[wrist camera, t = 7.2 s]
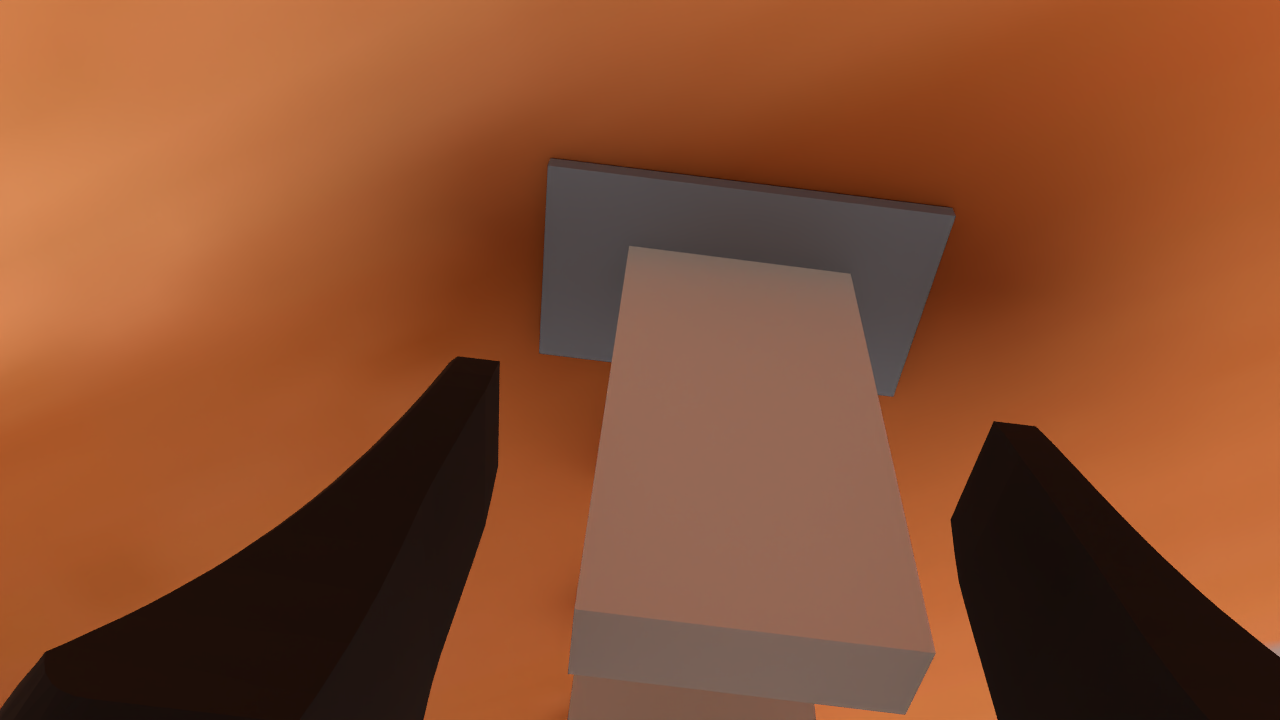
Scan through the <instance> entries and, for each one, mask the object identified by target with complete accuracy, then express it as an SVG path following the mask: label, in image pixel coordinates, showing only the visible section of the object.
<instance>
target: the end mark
mask: <svg viewBox="0 0 1280 720" xmlns="http://www.w3.org/2000/svg"><path fill="white" fill-rule="evenodd" d="M955 217H956V216H955V213H954V211H953V209H952V208H949V207H941V206H933V205H925V204H917V203H908V202H900V201H892V200H884V199H876V198H868V197H860V196H852V195H844V194H836V193H828V192H820V191H812V190H804V189H796V188H788V187H780V186H771V185H763V184H755V183H747V182H739V181H731V180H723V179H715V178H707V177H699V176H691V175H683V174H675V173H667V172H659V171H651V170H643V169H634V168H626V167H618V166H610V165H602V164H594V163H586V162H578V161H570V160H562V159H554V158H550V161H549V164H548V173H547V195H546V216H545V238H544V259H543V281H542V303H541V324H540V346H539V353H540V354H548V355H556V356H564V357H572V358H581V359H589V360H597V361H605V362H612V356H613V350H614V343H615V337H616V330H617V323H618V317H619V310H620V303H621V297H622V290H623V284H624V277H625V270H626V264H627V257H628V250H629V246H635V247H643V248H651V249H659V250H667V251H675V252H683V253H690V254H698V255H706V256H714V257H722V258H730V259H738V260H746V261H754V262H762V263H769V264H777V265H785V266H793V267H801V268H809V269H817V270H825V271H833V272H841V273H849V274H851V278H852V282H853V287H854V291H855V295H856V300H857V304H858V309H859V313H860V318H861V322H862V327H863V331H864V336H865V340H866V345H867V349H868V354H869V358H870V362H871V367H872V371H873V376H874V380H875V385H876V389H877V394H878V395H883V396H892V397H893V396H894V393H895V390H896V387H897V384H898V381H899V378H900V376H901V373H902V370H903V367H904V364H905V361H906V358H907V355H908V352H909V350H910V347H911V344H912V341H913V338H914V335H915V332H916V329H917V326H918V324H919V321H920V318H921V315H922V312H923V309H924V306H925V303H926V300H927V298H928V295H929V292H930V289H931V286H932V283H933V280H934V277H935V275H936V272H937V269H938V266H939V263H940V260H941V257H942V254H943V251H944V249H945V246H946V243H947V240H948V237H949V234H950V231H951V228H952V225H953V223H954V220H955Z"/></svg>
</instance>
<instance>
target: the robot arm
mask: <svg viewBox="0 0 1280 720" xmlns="http://www.w3.org/2000/svg"><path fill="white" fill-rule="evenodd" d="M499 367H500V361H491V360H483V359H475V358H467V357H456V358H455V359H453V360H452V361H451V362H450V363H449V364H448V365H447V366H446V367H445V369H444V370H443V371H442V372H441V374H440V375H439V376H438V377H437V378H436V379H435V381H434V382H433V383H432V384H431V385H430V386H429V388H428V389H427V390H426V391H425V392H424V393H423V394H422V396H421V397H420V398H419V399H418V400H417V401H416V402H415V403H414V404H413V405H412V406H411V408H410V409H409V410H408V411H407V412H406V413H405V414H404V415H403V416H402V417H401V418H400V419H399V420H398V421H397V422H396V423H395V424H394V425H393V426H392V427H391V428H390V429H389V430H388V431H387V432H386V433H385V434H384V435H383V436H382V437H381V438H380V440H379V441H378V442H377V443H376V444H374V445H373V446H372V447H371V448H370V449H369V450H368V451H367V452H366V453H365V454H364V455H363V456H362V457H361V458H359V459H358V460H357V461H356V462H355V463H354V464H353V465H352V466H351V467H349V468H348V469H347V470H346V471H345V472H344V473H343V474H342V475H341V476H339V477H338V478H337V479H336V480H335V481H334V482H333V483H332V484H330V485H329V486H328V487H327V488H326V489H324V490H323V491H322V492H321V493H320V494H318V495H317V496H316V497H315V498H313V499H312V500H311V501H310V502H308V503H307V504H306V505H305V506H303V507H302V508H301V509H299V510H298V511H297V512H295V513H294V514H293V515H291V516H290V517H289V518H287V519H286V520H285V521H283V522H282V523H281V524H279V525H278V526H277V527H275V528H274V529H272V530H271V531H269V532H268V533H266V534H265V535H264V536H262V537H261V538H259V539H258V540H256V541H255V542H253V543H252V544H250V545H249V546H247V547H246V548H244V549H243V550H242V551H240V552H239V553H237V554H235V555H234V556H232V557H231V558H229V559H228V560H226V561H224V562H223V563H221V564H220V565H218V566H216V567H215V568H213V569H212V570H210V571H208V572H206V573H205V574H203V575H201V576H199V577H197V578H196V579H194V580H192V581H190V582H189V583H187V584H185V585H183V586H181V587H180V588H178V589H176V590H174V591H173V592H171V593H169V594H167V595H165V596H163V597H161V598H160V599H158V600H156V601H154V602H152V603H150V604H148V605H146V606H144V607H142V608H140V609H138V610H136V611H134V612H132V613H130V614H128V615H126V616H124V617H122V618H120V619H117V620H115V621H113V622H111V623H109V624H107V625H104V626H102V627H100V628H98V629H96V630H94V631H91V632H89V633H87V634H85V635H83V636H80V637H78V638H76V639H74V640H72V641H70V642H67V643H65V644H63V645H61V646H58V647H56V648H53V649H51V650H49V651H46V652H45V653H44V654H43V656H42V657H41V658H40V660H39V661H38V662H37V663H36V665H35V666H34V667H33V668H32V669H31V670H30V672H29V673H28V674H27V675H26V676H25V677H24V679H23V680H22V681H21V682H20V683H19V684H18V686H17V687H16V689H15V690H14V691H13V693H12V694H11V695H10V697H9V698H8V699H7V701H6V702H5V703H4V705H3V706H2V708H1V709H0V720H423V719H424V715H425V710H426V706H427V702H428V698H429V694H430V689H431V685H432V682H433V678H434V675H435V672H436V668H437V665H438V662H439V658H440V655H441V652H442V649H443V646H444V644H445V641H446V638H447V635H448V632H449V629H450V626H451V623H452V620H453V618H454V615H455V612H456V609H457V606H458V603H459V600H460V597H461V595H462V592H463V589H464V586H465V583H466V580H467V577H468V574H469V572H470V569H471V566H472V563H473V560H474V557H475V554H476V551H477V548H478V545H479V542H480V539H481V536H482V533H483V530H484V527H485V524H486V519H487V515H488V510H489V506H490V501H491V497H492V492H493V487H494V482H495V478H496V473H497V468H498V436H499ZM951 527H952V535H953V543H954V552H955V559H956V566H957V572H958V579H959V584H960V588H961V592H962V596H963V599H964V603H965V607H966V610H967V614H968V617H969V621H970V625H971V628H972V632H973V635H974V639H975V642H976V646H977V649H978V653H979V656H980V660H981V663H982V667H983V670H984V674H985V677H986V681H987V684H988V687H989V691H990V694H991V698H992V701H993V705H994V708H995V712H996V715H997V719H998V720H1280V657H1279V656H1278V655H1276V654H1275V653H1274V652H1272V651H1271V650H1270V649H1268V648H1267V647H1266V646H1265V645H1263V644H1262V643H1261V642H1260V641H1258V640H1257V639H1256V638H1255V637H1254V636H1252V635H1251V634H1250V633H1249V632H1247V631H1246V630H1245V629H1244V628H1242V627H1241V626H1240V625H1239V624H1238V623H1236V622H1235V621H1234V620H1233V619H1231V618H1230V617H1229V616H1228V615H1227V614H1225V613H1224V612H1223V611H1222V610H1220V609H1219V608H1218V607H1217V606H1216V605H1215V604H1214V603H1212V602H1211V601H1210V600H1209V599H1208V598H1207V597H1205V596H1204V595H1203V594H1202V593H1201V592H1200V591H1199V590H1198V589H1197V588H1195V587H1194V586H1193V585H1192V584H1191V583H1190V582H1189V581H1188V580H1187V579H1186V578H1185V577H1184V576H1183V575H1181V574H1180V573H1179V572H1178V571H1177V570H1176V569H1175V568H1174V567H1173V566H1172V565H1171V564H1170V563H1169V562H1167V561H1166V560H1165V559H1164V558H1163V557H1162V556H1161V555H1160V554H1159V553H1158V552H1157V551H1156V550H1155V549H1154V548H1153V547H1152V546H1151V545H1150V544H1149V543H1148V542H1147V541H1146V540H1145V539H1144V538H1143V537H1142V536H1141V535H1140V534H1139V533H1138V532H1137V531H1136V530H1135V529H1134V528H1133V527H1132V526H1131V525H1130V524H1129V523H1128V522H1127V521H1126V520H1125V519H1124V518H1123V517H1122V516H1121V515H1120V514H1119V513H1118V512H1117V511H1116V510H1115V509H1114V508H1113V507H1112V506H1111V504H1110V503H1109V502H1108V501H1107V500H1106V499H1105V498H1104V497H1103V496H1102V495H1101V494H1100V493H1099V492H1098V491H1097V490H1096V489H1095V488H1094V487H1093V485H1092V484H1091V483H1090V482H1089V481H1088V480H1087V479H1086V478H1085V477H1084V476H1083V475H1082V474H1081V473H1080V472H1079V471H1078V470H1077V468H1076V467H1075V466H1074V465H1073V464H1072V463H1071V462H1070V461H1069V460H1068V459H1067V458H1066V457H1065V456H1064V455H1063V454H1062V453H1061V451H1060V450H1059V449H1058V448H1057V447H1056V446H1055V445H1054V444H1053V443H1052V442H1051V441H1050V440H1049V439H1048V438H1047V437H1046V436H1045V435H1044V434H1043V433H1042V432H1041V431H1040V430H1039V429H1038V428H1037V427H1036V426H1028V425H1020V424H1011V423H1003V422H995V421H994V422H993V424H992V427H991V429H990V431H989V433H988V436H987V438H986V440H985V443H984V445H983V447H982V449H981V452H980V454H979V456H978V458H977V461H976V463H975V465H974V468H973V470H972V472H971V474H970V477H969V479H968V481H967V484H966V486H965V488H964V490H963V493H962V495H961V497H960V499H959V502H958V504H957V506H956V509H955V511H954V513H953V515H952V518H951Z"/></svg>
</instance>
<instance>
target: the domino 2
mask: <svg viewBox="0 0 1280 720" xmlns="http://www.w3.org/2000/svg"><path fill="white" fill-rule="evenodd" d="M568 720H816V717H815V707H814V704H813V703H805V702H797V701H788V700H780V699H772V698H764V697H755V696H747V695H739V694H731V693H722V692H714V691H706V690H698V689H690V688H681V687H673V686H665V685H657V684H648V683H640V682H632V681H624V680H615V679H607V678H599V677H591V676H582V675H574V678H573V685H572V692H571V699H570V706H569V713H568Z"/></svg>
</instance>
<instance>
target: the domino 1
mask: <svg viewBox="0 0 1280 720" xmlns="http://www.w3.org/2000/svg"><path fill="white" fill-rule="evenodd" d="M934 655H935V648H934V644H933V640H932V635H931V631H930V626H929V622H928V617H927V613H926V608H925V604H924V599H923V595H922V590H921V586H920V581H919V577H918V572H917V568H916V564H915V559H914V555H913V550H912V546H911V541H910V537H909V532H908V528H907V523H906V519H905V514H904V510H903V505H902V501H901V497H900V492H899V488H898V483H897V479H896V474H895V470H894V465H893V461H892V456H891V452H890V447H889V443H888V438H887V434H886V430H885V425H884V421H883V416H882V412H881V407H880V403H879V398H878V394H877V389H876V385H875V380H874V376H873V371H872V367H871V362H870V358H869V354H868V349H867V345H866V340H865V336H864V331H863V327H862V322H861V318H860V313H859V309H858V304H857V300H856V295H855V291H854V287H853V282H852V278H851V274H849V273H841V272H833V271H825V270H817V269H809V268H801V267H793V266H785V265H777V264H769V263H762V262H754V261H746V260H738V259H730V258H722V257H714V256H706V255H698V254H690V253H683V252H675V251H667V250H659V249H651V248H643V247H635V246H629V250H628V257H627V264H626V270H625V277H624V284H623V290H622V297H621V303H620V310H619V317H618V323H617V330H616V337H615V343H614V350H613V356H612V363H611V370H610V376H609V383H608V390H607V396H606V403H605V409H604V416H603V423H602V429H601V436H600V443H599V449H598V456H597V463H596V469H595V476H594V482H593V489H592V496H591V502H590V509H589V516H588V522H587V529H586V535H585V542H584V549H583V555H582V562H581V569H580V575H579V582H578V588H577V595H576V602H575V608H574V618H573V628H572V638H571V648H570V658H569V668H568V674H574V675H582V676H591V677H599V678H607V679H615V680H624V681H632V682H640V683H648V684H657V685H665V686H673V687H681V688H690V689H698V690H706V691H714V692H722V693H731V694H739V695H747V696H755V697H764V698H772V699H780V700H788V701H797V702H805V703H813V704H821V705H830V706H838V707H846V708H854V709H863V710H871V711H879V712H887V713H896V714H904V715H905V714H906V712H907V710H908V708H909V706H910V704H911V702H912V700H913V698H914V696H915V694H916V692H917V690H918V688H919V686H920V684H921V682H922V680H923V678H924V676H925V674H926V672H927V670H928V668H929V666H930V663H931V661H932V659H933V657H934Z"/></svg>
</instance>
